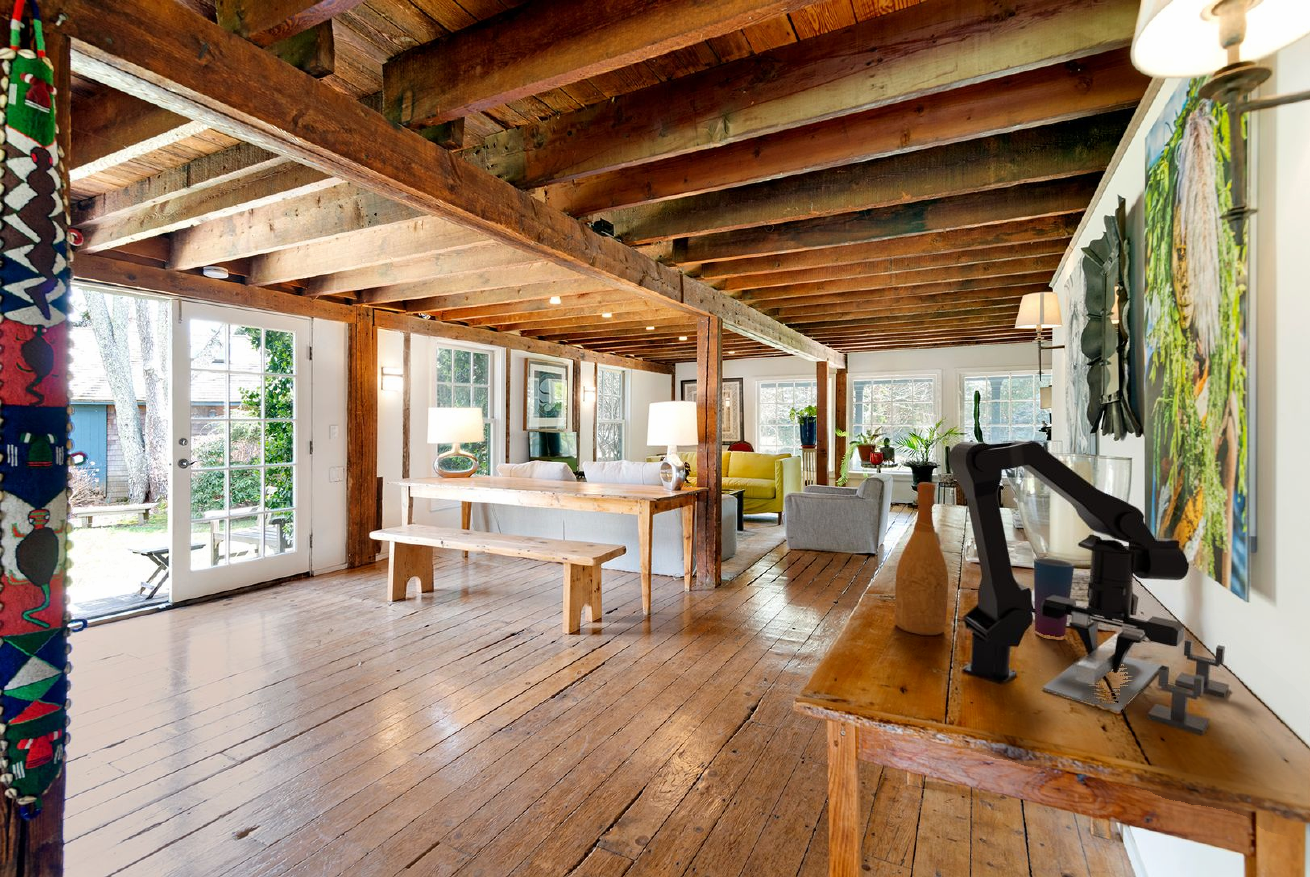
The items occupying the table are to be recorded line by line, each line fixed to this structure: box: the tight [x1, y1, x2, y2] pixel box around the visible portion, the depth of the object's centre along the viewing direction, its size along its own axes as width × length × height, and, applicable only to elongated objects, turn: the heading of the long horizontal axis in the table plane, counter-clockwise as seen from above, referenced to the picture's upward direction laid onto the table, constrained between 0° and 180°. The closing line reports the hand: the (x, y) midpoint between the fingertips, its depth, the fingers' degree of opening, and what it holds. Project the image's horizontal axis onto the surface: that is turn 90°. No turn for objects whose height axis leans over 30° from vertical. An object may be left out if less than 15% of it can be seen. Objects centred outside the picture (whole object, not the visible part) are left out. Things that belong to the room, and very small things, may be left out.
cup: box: [1033, 557, 1075, 637], centre depth 124 cm, size 7×7×15 cm
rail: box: [1075, 633, 1133, 685], centre depth 104 cm, size 23×2×2 cm, turn 131°
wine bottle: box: [894, 481, 949, 636], centre depth 125 cm, size 10×10×30 cm
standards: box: [1147, 637, 1230, 736], centre depth 95 cm, size 24×6×7 cm, turn 131°
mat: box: [1042, 656, 1162, 712], centre depth 104 cm, size 28×10×1 cm, turn 131°
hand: (1105, 669), depth 104 cm, fingers closed on rail, 2 cm apart
